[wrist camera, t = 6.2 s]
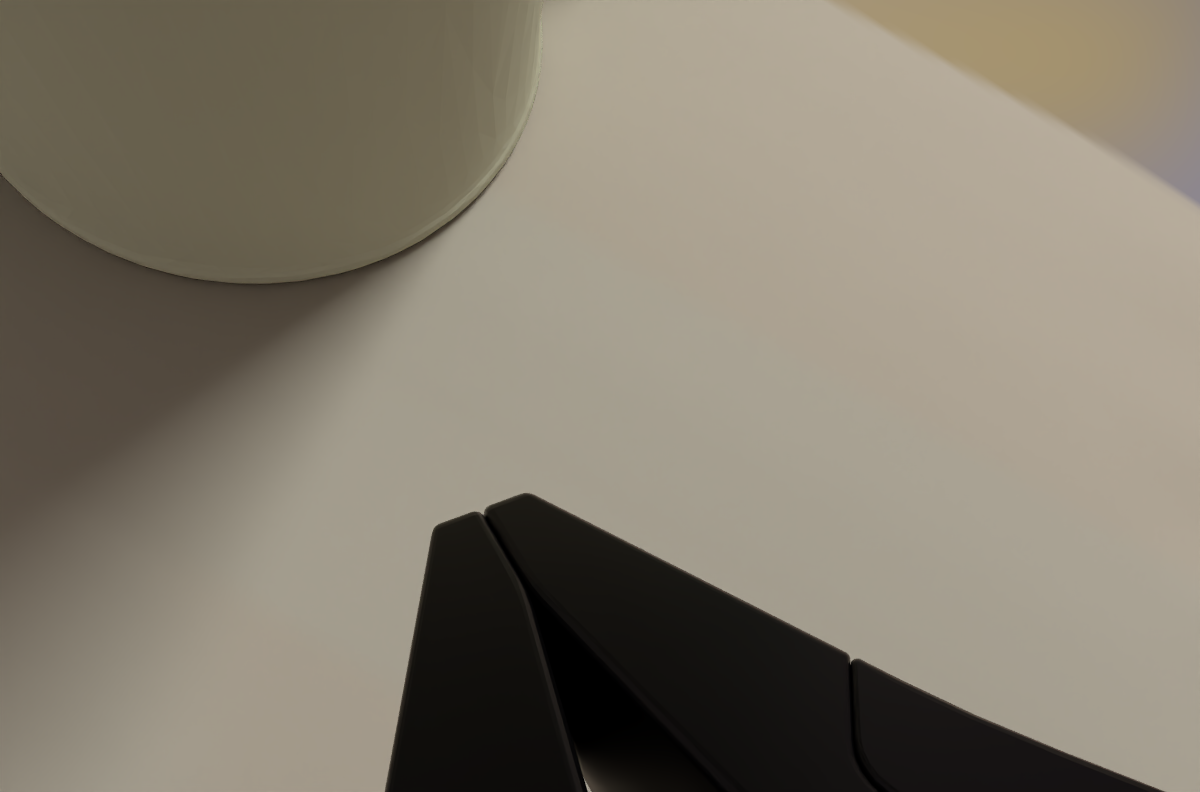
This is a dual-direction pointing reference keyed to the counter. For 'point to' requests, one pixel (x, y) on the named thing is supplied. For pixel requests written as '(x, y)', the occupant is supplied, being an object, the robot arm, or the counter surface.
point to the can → (261, 124)
